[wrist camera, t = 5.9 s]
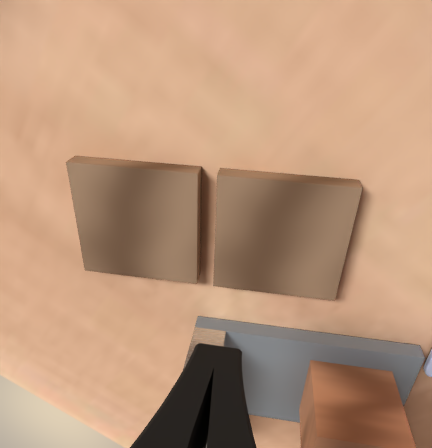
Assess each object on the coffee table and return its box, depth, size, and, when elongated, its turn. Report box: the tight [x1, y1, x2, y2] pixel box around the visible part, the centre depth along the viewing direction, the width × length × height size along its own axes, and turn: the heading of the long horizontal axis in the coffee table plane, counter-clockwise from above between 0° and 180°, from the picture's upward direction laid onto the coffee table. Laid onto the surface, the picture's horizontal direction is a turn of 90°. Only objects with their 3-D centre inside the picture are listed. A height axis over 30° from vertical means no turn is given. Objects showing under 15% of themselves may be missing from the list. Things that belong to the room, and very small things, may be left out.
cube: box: [299, 360, 416, 448], centre depth 23 cm, size 5×5×5 cm
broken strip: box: [66, 156, 362, 301], centre depth 21 cm, size 15×7×1 cm, turn 88°
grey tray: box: [183, 316, 425, 447], centre depth 24 cm, size 14×8×4 cm, turn 88°
